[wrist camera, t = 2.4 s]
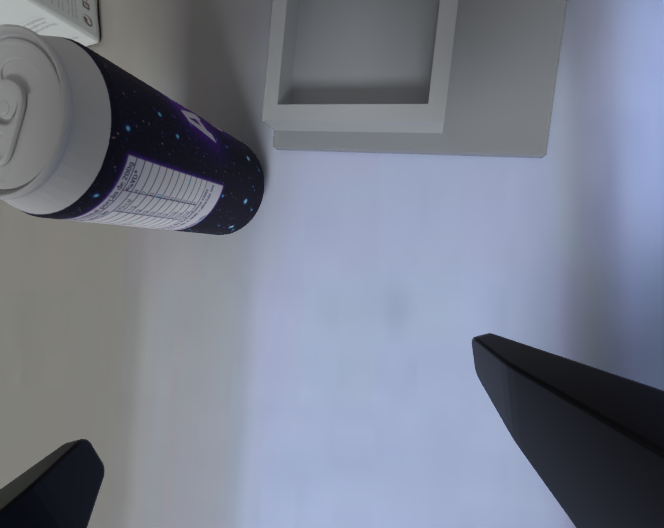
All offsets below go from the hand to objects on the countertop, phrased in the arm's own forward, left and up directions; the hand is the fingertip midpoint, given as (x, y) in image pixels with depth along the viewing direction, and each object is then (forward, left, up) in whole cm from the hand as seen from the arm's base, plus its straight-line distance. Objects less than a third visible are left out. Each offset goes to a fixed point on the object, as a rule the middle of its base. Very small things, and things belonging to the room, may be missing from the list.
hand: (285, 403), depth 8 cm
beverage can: (+9, -7, -12) cm, 17 cm away
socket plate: (-1, -15, -12) cm, 19 cm away
